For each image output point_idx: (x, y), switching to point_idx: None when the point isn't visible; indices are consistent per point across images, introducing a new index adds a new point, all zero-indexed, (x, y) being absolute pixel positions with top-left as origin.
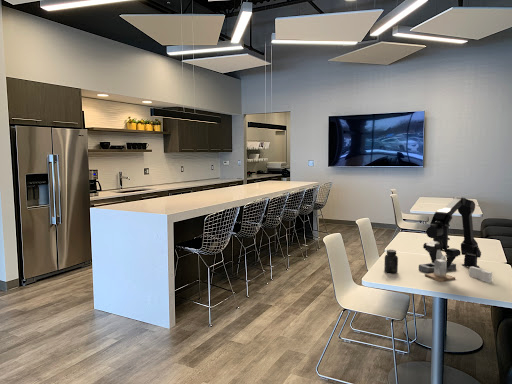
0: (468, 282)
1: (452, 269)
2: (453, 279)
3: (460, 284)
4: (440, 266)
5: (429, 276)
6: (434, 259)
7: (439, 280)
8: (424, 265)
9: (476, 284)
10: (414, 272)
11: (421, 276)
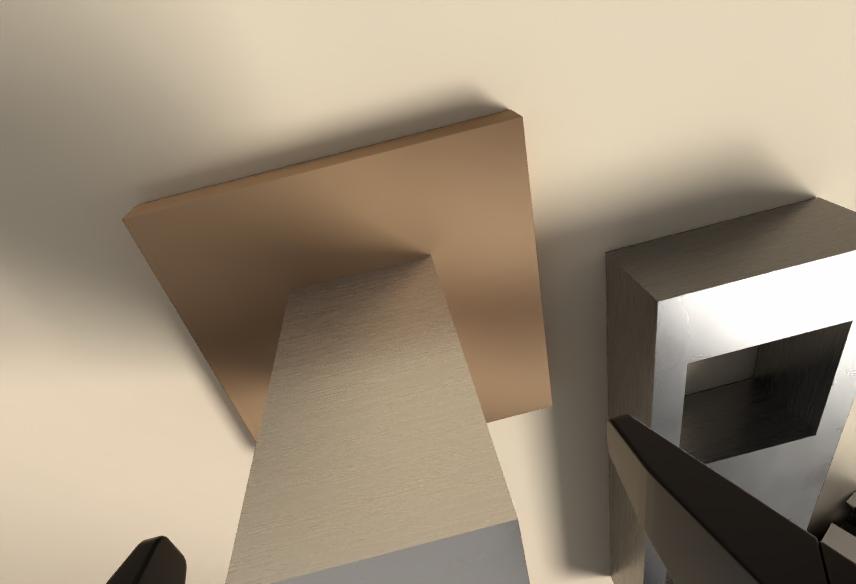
0: (155, 527)
1: (613, 556)
2: None
3: (35, 421)
4: (262, 452)
5: (403, 142)
6: (661, 538)
7: (156, 203)
8: (813, 310)
9: (80, 563)
10: (766, 27)
11: (506, 11)
